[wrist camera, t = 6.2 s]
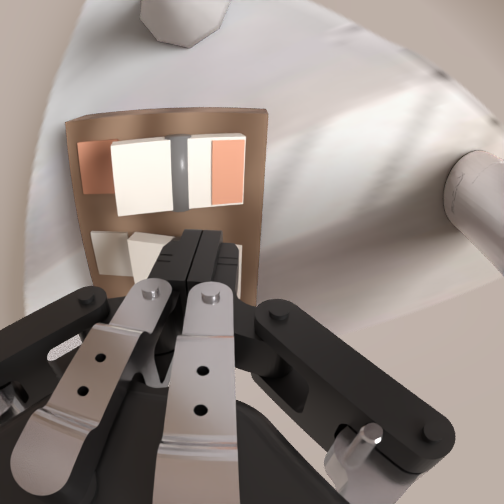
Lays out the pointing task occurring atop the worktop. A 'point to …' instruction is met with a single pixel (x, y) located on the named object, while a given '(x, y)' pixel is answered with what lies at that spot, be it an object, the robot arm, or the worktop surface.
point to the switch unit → (166, 222)
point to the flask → (183, 19)
